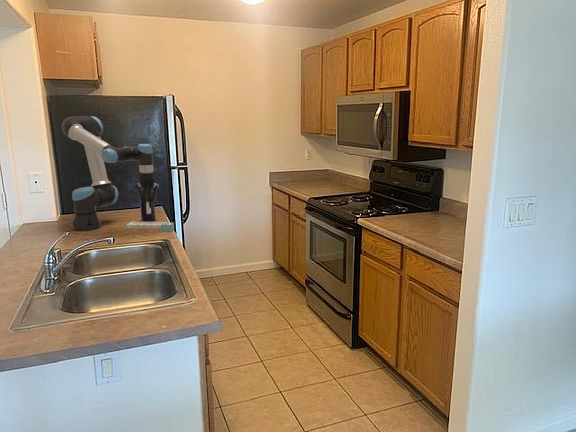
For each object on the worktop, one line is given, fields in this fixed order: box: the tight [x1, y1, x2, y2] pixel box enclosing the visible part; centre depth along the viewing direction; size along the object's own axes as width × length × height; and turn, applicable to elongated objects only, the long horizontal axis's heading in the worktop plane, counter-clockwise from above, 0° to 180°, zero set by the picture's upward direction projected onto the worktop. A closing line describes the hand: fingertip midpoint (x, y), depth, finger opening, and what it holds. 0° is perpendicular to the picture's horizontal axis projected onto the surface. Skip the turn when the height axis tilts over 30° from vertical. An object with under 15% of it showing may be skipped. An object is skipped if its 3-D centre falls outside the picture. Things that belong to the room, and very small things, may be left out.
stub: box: [160, 222, 175, 232], centre depth 246 cm, size 6×5×4 cm
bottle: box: [139, 188, 157, 222], centre depth 266 cm, size 9×9×30 cm
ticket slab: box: [125, 221, 169, 230], centre depth 254 cm, size 22×8×2 cm, turn 87°
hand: (148, 213), depth 245 cm, fingers closed
